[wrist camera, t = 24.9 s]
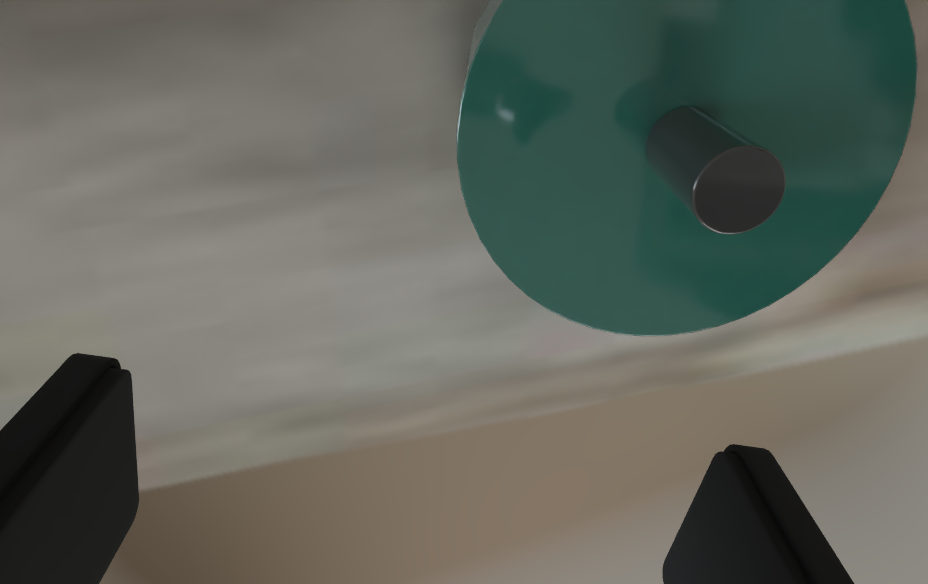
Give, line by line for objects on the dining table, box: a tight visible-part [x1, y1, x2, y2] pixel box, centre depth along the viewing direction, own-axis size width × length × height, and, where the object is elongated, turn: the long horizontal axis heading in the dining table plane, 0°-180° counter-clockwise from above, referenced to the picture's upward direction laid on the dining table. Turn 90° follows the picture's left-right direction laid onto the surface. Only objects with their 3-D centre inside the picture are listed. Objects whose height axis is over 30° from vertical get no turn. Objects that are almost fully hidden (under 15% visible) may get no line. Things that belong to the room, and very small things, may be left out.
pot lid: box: [457, 0, 917, 336], centre depth 21 cm, size 16×16×6 cm
